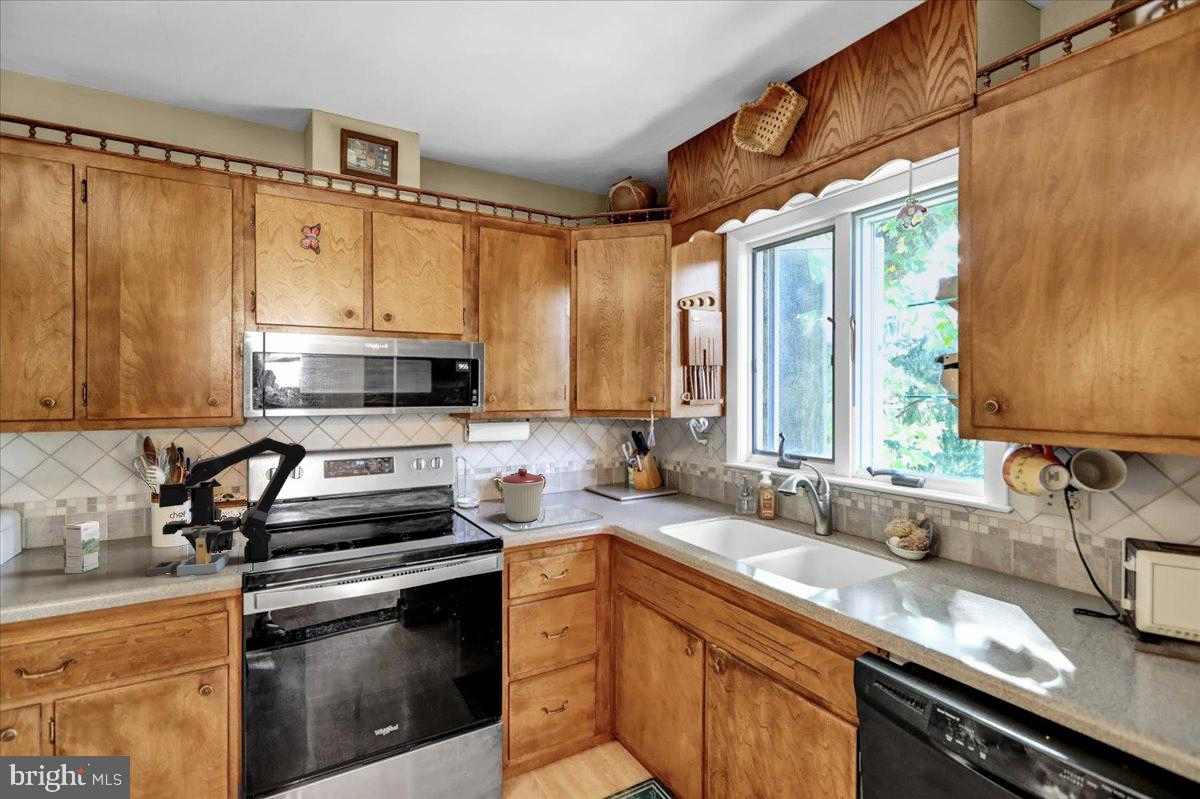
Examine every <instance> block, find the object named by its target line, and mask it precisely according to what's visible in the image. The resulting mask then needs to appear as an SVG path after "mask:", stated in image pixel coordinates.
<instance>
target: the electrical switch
mask: <svg viewBox="0 0 1200 799" xmlns="http://www.w3.org/2000/svg"><path fill="white" fill-rule="evenodd" d="M209 531H210V529H209V528H204V529H200V532H199V536H201V535H206V533H207V532H209ZM233 537H234V530H226V531H223V530H222V531H221V532H220V533H218V535H217V536H216V538H215V541H214V544H213V546H212V549H211V553H215V551H218V552H220V551H223V550H232V551H233V539H234V538H233Z"/></svg>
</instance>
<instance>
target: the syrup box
mask: <svg viewBox="0 0 1200 799" xmlns="http://www.w3.org/2000/svg"><path fill="white" fill-rule="evenodd" d="M62 528H63V529H62V536H63V538H62V539H63V542H62V544H63V547H62V548H63V573H64V574H84V573H87V572H90V571H92V570H96V569H98V568H100V560H101V559H100V521H97V520H82V521H81V520H80V521H77V522H74V523H73V522H72V523H70V524H66V525H63V527H62ZM95 568H96V569H95Z"/></svg>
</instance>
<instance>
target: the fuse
mask: <svg viewBox="0 0 1200 799" xmlns="http://www.w3.org/2000/svg"><path fill="white" fill-rule="evenodd" d="M195 556H196V564H207V563H209V562H210V561H211V552H210V553H209V554H208V553H207V540H206V535H201V536H199V537H198V538H196V552H195Z"/></svg>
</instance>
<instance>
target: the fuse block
mask: <svg viewBox="0 0 1200 799" xmlns="http://www.w3.org/2000/svg"><path fill="white" fill-rule="evenodd" d="M180 564H182V560H181V559H177V560H165V561H156V562H155V563H153V564H152V565H151V566H149V567H148V568H146V569H145V571H146V572H145V574H146V577H151V576H150V575H154V576H159V575H158V574H166V573H171V572H173V571H174V570H176V569H177V566H179V565H180ZM176 571H177V570H176ZM174 572H175V571H174ZM174 572H173V573H174ZM171 574H172V573H171ZM166 575H167V574H166Z"/></svg>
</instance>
